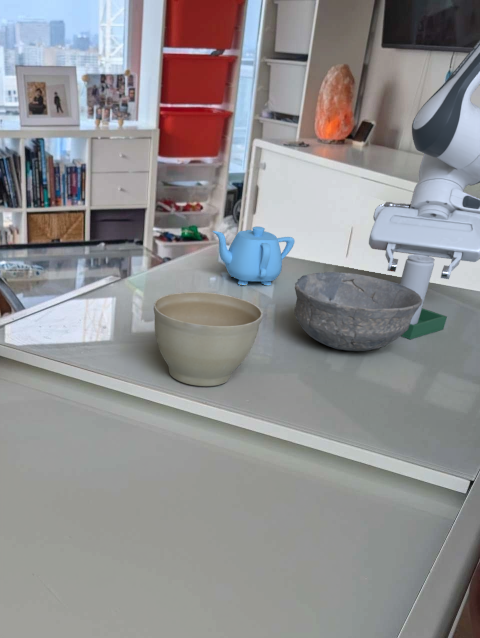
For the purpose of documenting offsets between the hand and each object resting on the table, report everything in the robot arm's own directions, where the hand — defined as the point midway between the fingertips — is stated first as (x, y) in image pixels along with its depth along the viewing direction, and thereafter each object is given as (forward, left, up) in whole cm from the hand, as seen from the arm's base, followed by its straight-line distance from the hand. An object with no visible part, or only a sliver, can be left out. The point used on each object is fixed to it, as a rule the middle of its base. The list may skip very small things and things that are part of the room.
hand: (418, 273), depth 140 cm
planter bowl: (+53, 0, -9) cm, 53 cm away
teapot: (+10, -33, -9) cm, 35 cm away
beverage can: (+4, +2, -8) cm, 9 cm away
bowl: (+22, +3, -9) cm, 24 cm away
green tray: (+4, +2, -9) cm, 10 cm away
